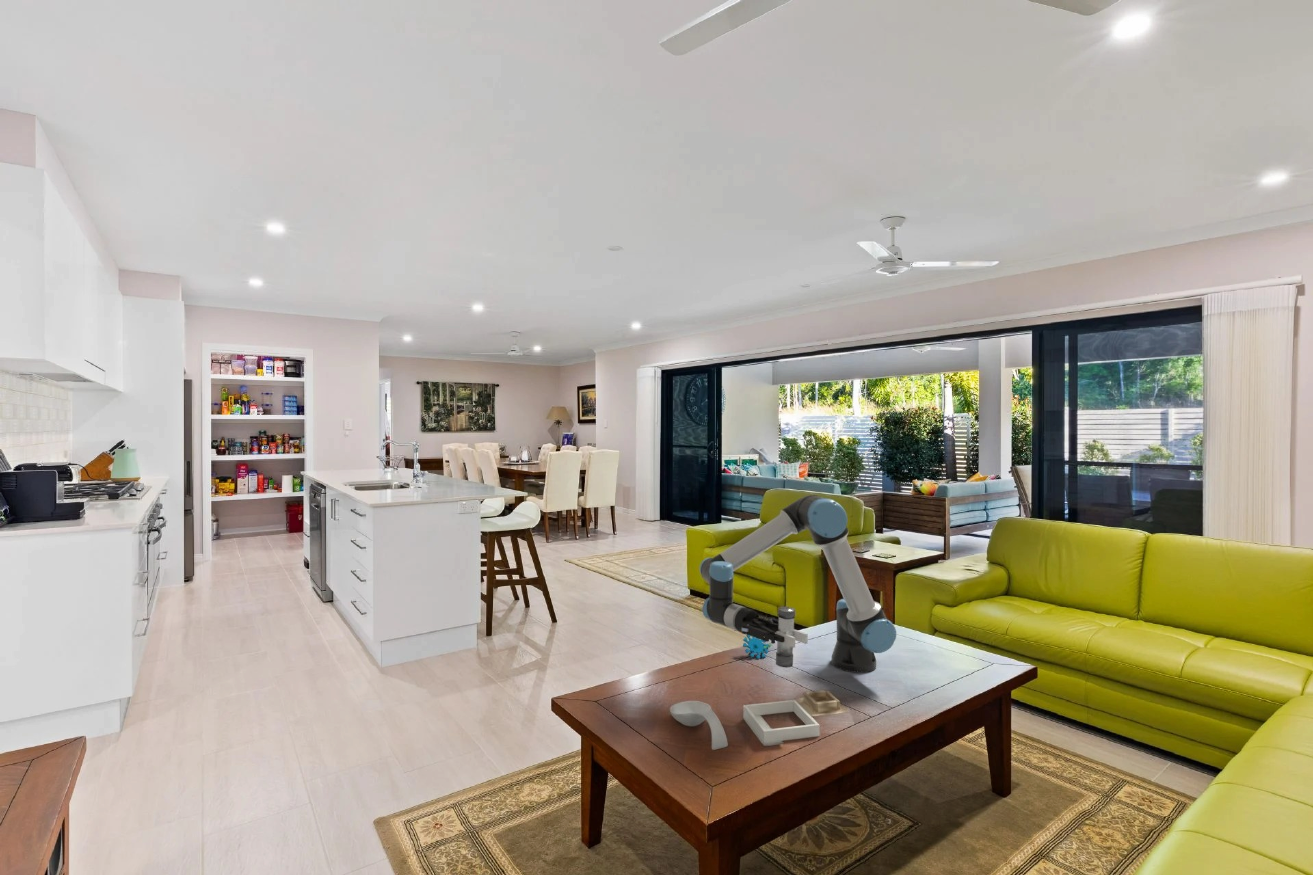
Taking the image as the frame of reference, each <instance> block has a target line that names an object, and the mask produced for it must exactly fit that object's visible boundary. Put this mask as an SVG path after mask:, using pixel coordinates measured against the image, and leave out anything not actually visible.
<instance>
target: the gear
mask: <svg viewBox="0 0 1313 875" xmlns="http://www.w3.org/2000/svg"><path fill="white" fill-rule="evenodd" d="M745 635H746V636H745V637H743V639H742V641H743V644H742V647H744V648H746V649H745V650H744V652H745V653H746V654H748V653H750V654H749V656H750V658H753V657H755V655H756V657H755V659H757V660H760V658H762V659H763V658H766V655H767V654H768V653H769V648H770V647H771V646H772V643H771V642H769V643H767V642H766V641H763V640H761V639H758V638H755V637H753V636H750V635H747V634H745ZM760 655H761V656H760Z"/></svg>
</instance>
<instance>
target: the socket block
mask: <svg viewBox="0 0 1313 875" xmlns="http://www.w3.org/2000/svg"><path fill="white" fill-rule="evenodd" d="M794 700H795V701H796V702H797V703H798V704H799V705H800V706H801V707H802V708H803V709H804V710H805V711H806V712H807V713H808V714H809V715H810V716H811V717H820V716H828V715H829V716H830V715H838V714H846V713H847V714H848V713H850V711H849V710H848V709H847V708H846V707H845V706H844V705H842V704H841V701H840V700H839V699H838V698H837V697H835V696H834V694H832V693H831V692H830V691H829V690H828V689H826V690H816V691H806V692H803V693H802V697H798V698H794Z"/></svg>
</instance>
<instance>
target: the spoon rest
mask: <svg viewBox="0 0 1313 875" xmlns="http://www.w3.org/2000/svg"><path fill="white" fill-rule="evenodd" d="M669 712H670V714H671V716H672V717H673V719H675V721H678V722H679V723H680V724H682V725H684V726H687V727H698V726H700V725H702V723H704V722H705V721H706V722H707V723H708V726H709V729H710V733H711V750H713V751H716V750H719V749H724V748H726V747H728V745H729V743H728V738H727V735H726V732H725V730H724V727H723V725H722V723H721V721H720V719H719V717H718V715H716V713H715V712H714V711H713V709H712V707H711V706H710V705H709V704H708V703H705V702H703V701H698V700H685V701H679V702H678V703H674V704H673V705H671V706H670V707H669Z"/></svg>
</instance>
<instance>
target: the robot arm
mask: <svg viewBox="0 0 1313 875" xmlns="http://www.w3.org/2000/svg"><path fill="white" fill-rule="evenodd" d="M847 524H848V514H847V512H846V510H845V508H844V507H843V506H842V505H841V504H840V503H839V502H837V501H835V500H834V499H831V498H826V497H822V496H821V495H817V494H816V495H815V494H808V495H805V496H802V497H799V498H798V499H797V500H795V501H793V502H792V503H790V504H788V505H787V506H786V507H784V508H783V509H780V513H779V514H778V515H777V516H776V517H774V518H773V519H771V520H770V521H768V522H767V523H765V524H763V525H762V526H760V527H759V528H757V529H756V530H754V531H753V532H751V533H749V534H748V535H746V536H745V537H743V538H742V539H740V540H739V541H738V542H735V543H734V544H733V545H731V546H729V547H728V548H727V549H724V550H723V551H722V552H720V553H718V554H717V555H715V556H714V557H706V558H704V559H703V560H702V561H701V562H700V564H699V572H700V573H699V574H700V575H701V578H702V579H703V580H704V581H705V582H706V583H707V584H708V586H709V594H708V595H709V596H708V597H707V598H706V599H704V602H703V605H702V606H701V607H702V608H701V610H702V614H703V616H704V617H705V618H706V619H707V620H709V621H711V622H713V623H715V624H718V625H721V626H724V627H727V628H730V629H732V630H733V631H734V632H737V631H738V632H739V633H741V634H743V635H750V637H752V636H753V637H755V638H758V639H759V640H763V641H766V642H765V643H768V642H770V643H771V645H772V644H774V645H775V644H776V642H780V643H782V644H785V645H788V646H790V647H793V649H794V648H796V642H800V643H802V644H805V645H806V644H808V641H809V640H808V638H809V636H808V633H806V632H803V631H800V630H797V629H796V628H794V634H793V636H790V635H787V634H784V633H782V632H779V631H778V619H777V618H775V617H774V616H772V617H771V616H770V619H767V618H765V617H762V616H759V614H758V613H757V611H755V610H754V609H752V608H748V607H746V606H743V605H739V604H736V603H734V601H733V600H734V572H735V571H736V570H738V569H739V568H741V567H743V566H744V565H746V564H747V563H749V562H750V561H752V560H753V559H755V558H757V557H759V555H762V553H764V552H766V551H767V550H769V549H770V548H772V547H774V546H775V545H777V544H778V543H780V542H781V541H783V540H784V539H786V538H787V537H790V535H793V534H794V535H797V534H799V533H801V532H803V531H806V530H808V532H809V534H810V535H811V538H812V540H813V542H814V544H815V545H816V546H818V547H821V548H822V549H821V550H822V551H823V554H824V556H825V559H826V561H827V563H828V565H829V567H830V570H831V573H832V575H833V576H834V579H835V582H836V584H837V586H838V589H839V590H840V593H841V595H842V597H843V598H840V599H839V600H838V601H837V603H836V610H835V611H836V643H835V645H834V648H833V651H832V653H831V664H832V665H833V666H834V667H835V668H837V669H839V670H843V671H845V672H851V673H866V672H872V671H874V670H876V669H877V659H876V656H875V654H882V653H885V652H887V651H889V650H890V649H891V648H892V647H893V645H894V643H895V641H896V639H897V629H896V627H895V625H894V623H893V622H892V621H891V620H889V619H888V618H887V617H886V614H885V613H884V609H883V608H882V605H881V603H879V602H878V601H875V600H874V599H873V596H872V594H871V592H870V590H869V586H868V584H867V582H866V580H865V578H864V576H863V573H862V570H861V568H860V566H859V563H858V562H857V559H856V556H855V555H854V552H853V550H852V547H851V546H850V543H849V541H848V538H847V537H848V535H849V529H848V528H849V527H848V526H847Z"/></svg>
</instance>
